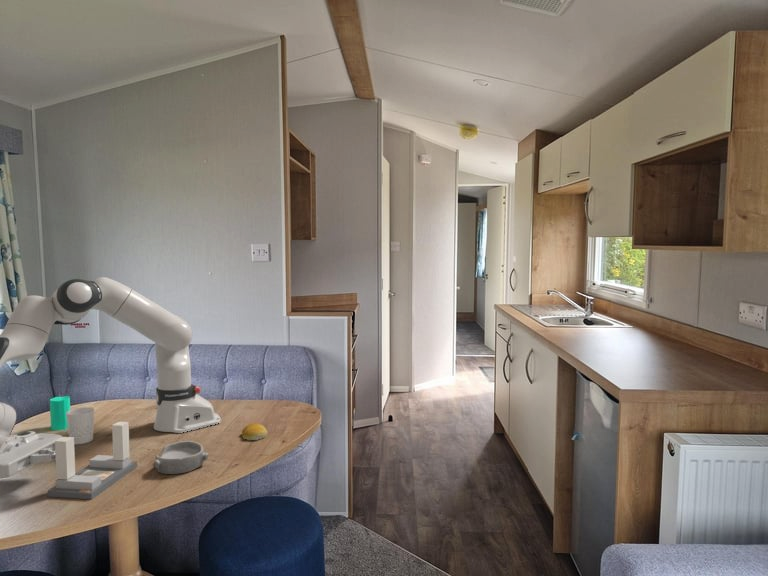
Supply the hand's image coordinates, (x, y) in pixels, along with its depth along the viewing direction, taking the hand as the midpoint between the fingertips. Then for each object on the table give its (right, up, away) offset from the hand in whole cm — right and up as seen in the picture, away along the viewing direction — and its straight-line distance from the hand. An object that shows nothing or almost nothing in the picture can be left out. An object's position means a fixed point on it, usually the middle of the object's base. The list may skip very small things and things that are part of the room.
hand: (54, 456), depth 137 cm
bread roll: (+42, -7, +41) cm, 59 cm away
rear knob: (+11, -4, +12) cm, 17 cm away
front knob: (+3, -5, 0) cm, 6 cm away
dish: (+27, -8, +17) cm, 33 cm away
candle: (-27, -5, +47) cm, 55 cm away
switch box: (+7, -9, +6) cm, 13 cm away
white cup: (-13, -6, +35) cm, 38 cm away
